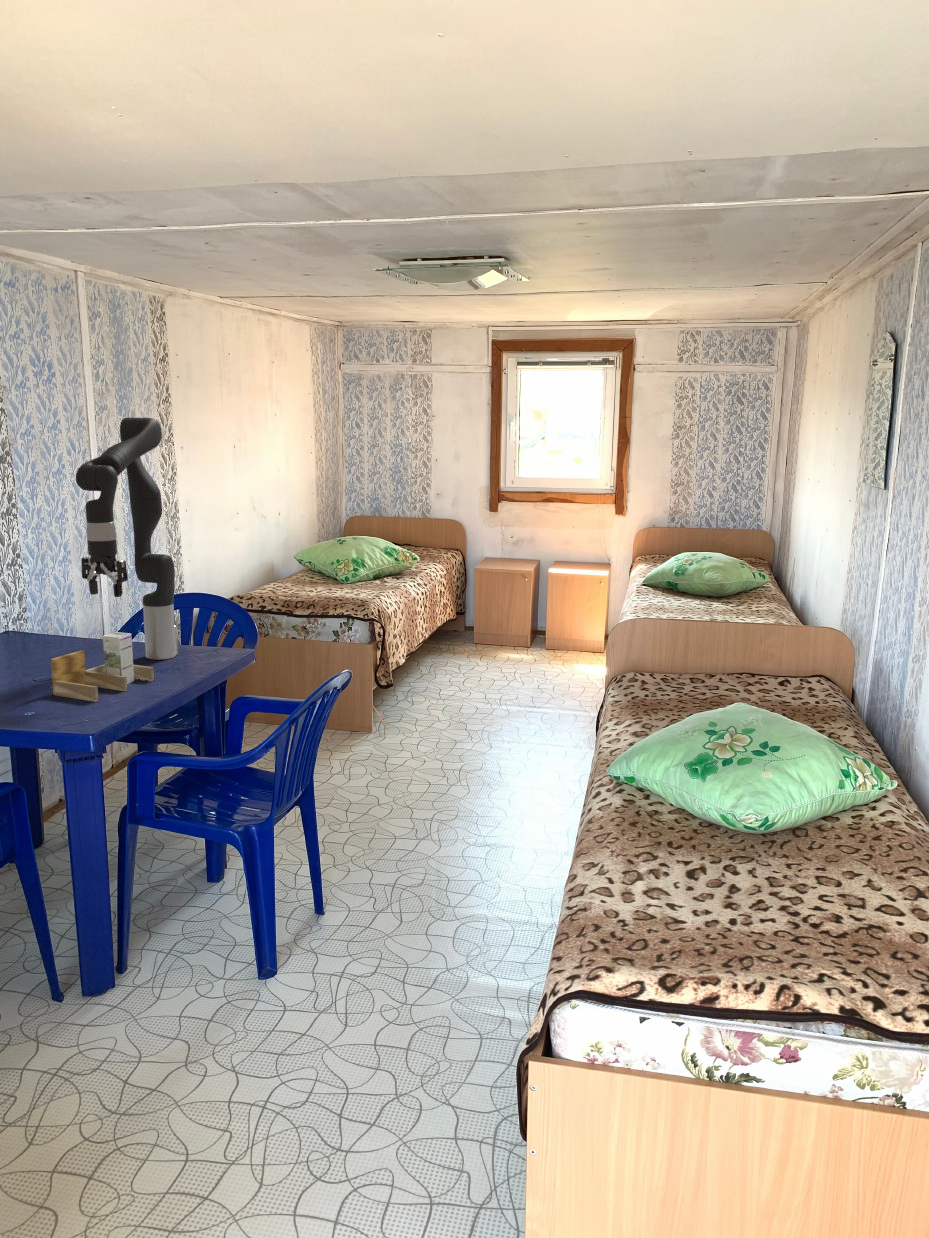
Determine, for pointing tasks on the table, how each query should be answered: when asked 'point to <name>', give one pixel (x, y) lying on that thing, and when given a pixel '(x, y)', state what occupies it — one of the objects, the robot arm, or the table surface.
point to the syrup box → (119, 655)
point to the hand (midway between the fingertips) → (106, 595)
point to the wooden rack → (88, 677)
